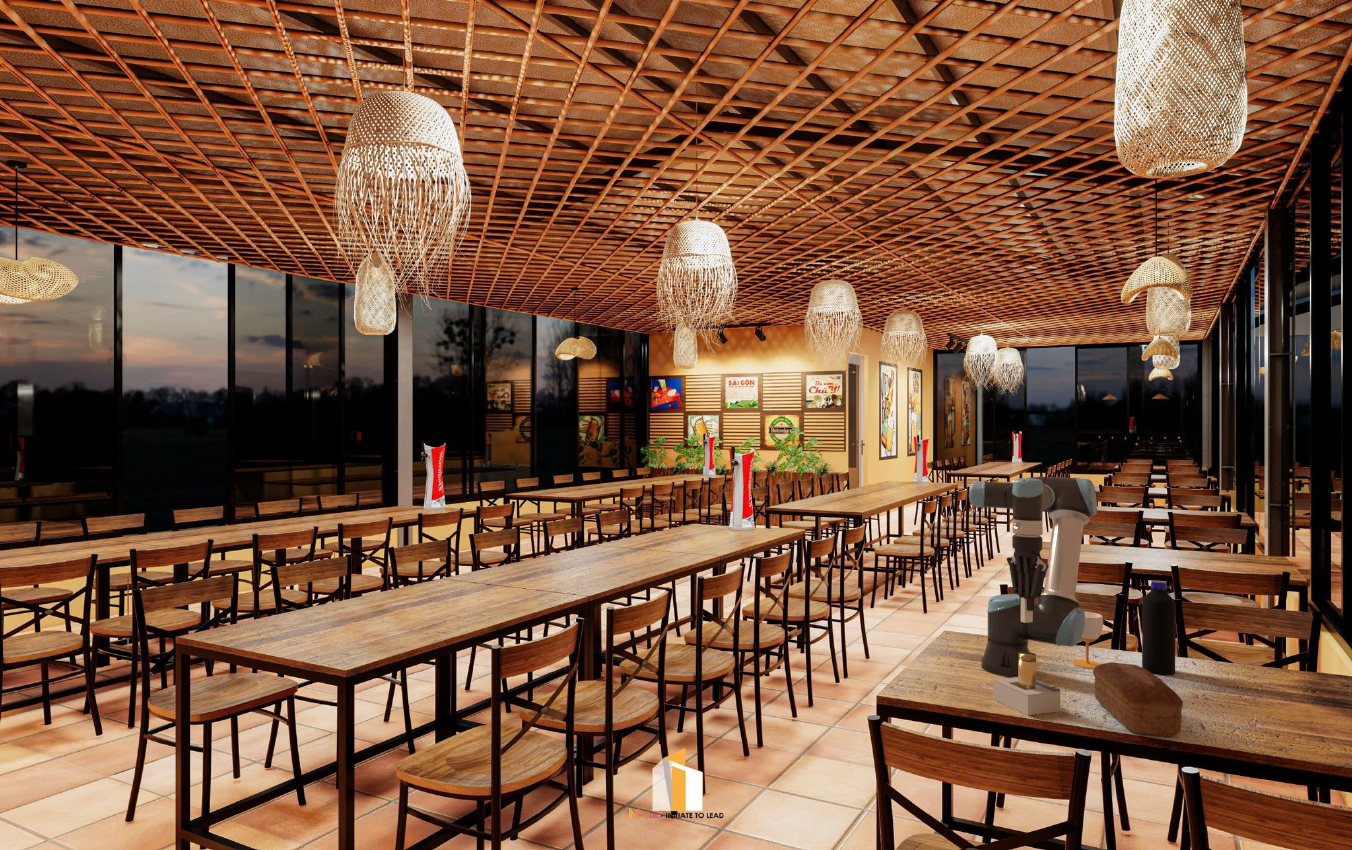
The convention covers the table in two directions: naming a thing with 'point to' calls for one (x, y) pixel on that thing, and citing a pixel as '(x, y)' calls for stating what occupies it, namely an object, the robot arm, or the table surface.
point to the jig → (1027, 696)
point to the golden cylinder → (1027, 670)
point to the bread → (1138, 699)
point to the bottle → (1158, 630)
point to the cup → (1090, 637)
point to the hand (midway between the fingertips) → (1026, 621)
